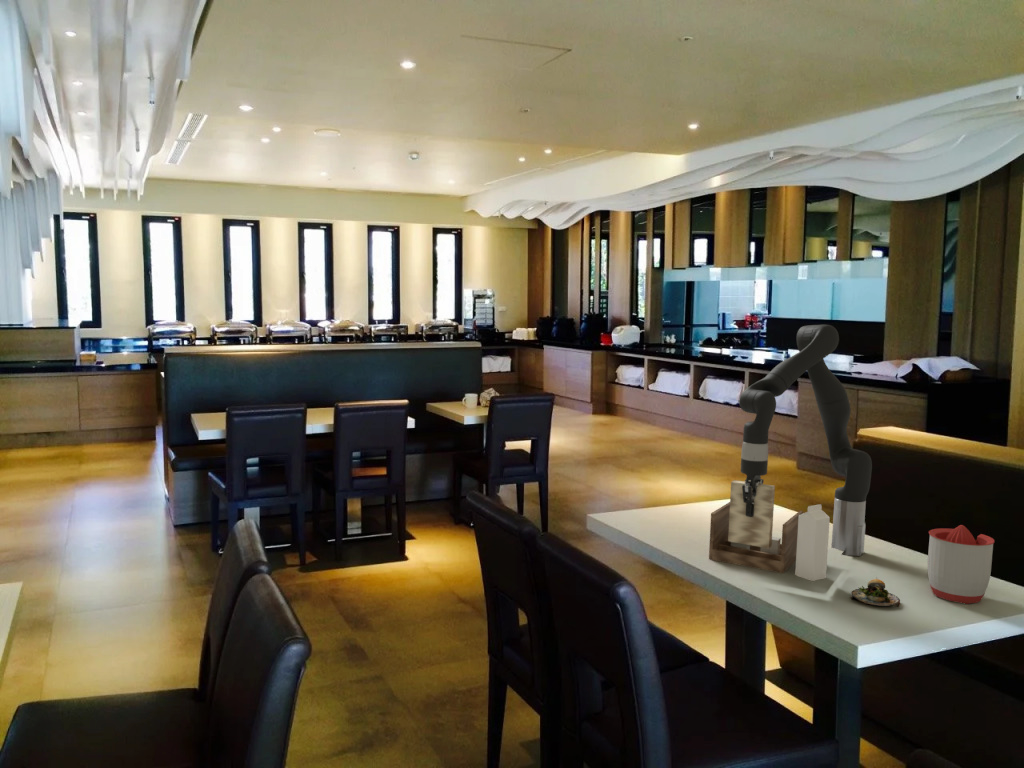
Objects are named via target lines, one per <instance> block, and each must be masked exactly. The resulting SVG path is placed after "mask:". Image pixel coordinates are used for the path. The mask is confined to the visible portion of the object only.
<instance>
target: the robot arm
mask: <svg viewBox="0 0 1024 768" xmlns="http://www.w3.org/2000/svg"><path fill="white" fill-rule="evenodd" d="M839 342H840V336H839V332H838V330H837V329H836V327H834V325H830V324H811V325H804V326H803V325H802V326H801V327H800V328H799V329H798V330H797V333H796V345H797V350H798V352H797V353H795V354H793V355H792V356H790V357H788V358H786V359H785V360H783V361H781V362H780V363H778V364H777V365H775V367H773V368H772V369H771V371H769V372H768V373H767V374H766V375H765V377H763V378H762V379H759V380H758V381H756V382H754V383H753V384H751V385H750V386H748V387H747V388H745V389H744V391H743V392H742V393H741V394H740V397H739V400H738V401H739V402H738V405H739V407H740V409H741V410H742V411H743V412H745V413H747V414H748V413H749V414H753V415H754V414H755V415H756V416H755V418H754V420H753V421H752V420H751V421H747V422H745V424H744V425H743V437H742V445H741V453H740V456H741V457H740V472H741V474H743V475H746V479H745V480H744V482H745V484H744V485H743V486H742V490H743V501H744V503H746V516H748V517H753V516H754V504H755V497H756V496H757V487H758V486H759V484H764V481H765V480H764V478H762V476H765V475H767V474H768V465H769V464H768V462H769V460H768V459H769V430H770V426H771V424H772V421H773V417H774V415H775V412H776V409H777V408H776V407H777V400H776V398H777V397H780V396H782V395H783V394H784V393H785V392H786V391H787V390H788V389H790V387H791V386H792V385H793V384H794V383H795V382H796V381H797V380H798V379H799V378H800V377H801V376H803V374H804V373H806V372H807V373H808V377H809V381H810V384H811V386H812V390H813V394H814V396H815V397H814V398H815V401H816V404H817V409H818V412H819V415H820V418H821V421H822V425H823V428H824V432H825V437H826V440H827V447H828V452H829V453H828V454H829V459H830V463H831V467H832V469H833V471H834V472H835V473H837V474H838V475H839V476H843V477H845V482H844V485H843V486H840V487H837V488H836V489H835V491H834V500H833V502H834V504H833V516H832V517H833V519H832V532H831V533H832V535H831V549H835V550H839V551H841V552H842V551H843V552H842V553H841V556H842V555H843V556H849V557H851V556H852V557H855V556H856V557H861V556H862V555H863V553H864V552H865V551H864V550H865V540H866V539H865V537H866V536H865V535H866V521H865V519H866V517H865V516H866V504H867V495H868V494H869V491H870V489H871V481H872V480H871V479H872V471H873V470H872V469H873V462H872V458H871V456H870V454H868V453H867V452H865V451H863V450H859V449H855V448H853V447H852V445H851V443H850V439H849V437H848V430H847V428H848V424H849V421H850V418H851V413H852V412H851V404H850V399H849V397H848V393H847V389H846V388H845V386H844V384H842V382H841V381H840V380H839V379H838V377H837V376H835V374H834V373H833V372H832V371H831V370H830V369H829V368H828V366H827V364H826V362H825V358H826V357H828V356H829V355H830V354H832V353H833V352H835V350H836V349H837V347H838V345H839ZM752 493H754V494H752ZM748 497H750V499H748Z"/></svg>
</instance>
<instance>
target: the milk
mask: <svg viewBox="0 0 1024 768" xmlns="http://www.w3.org/2000/svg"><path fill="white" fill-rule="evenodd" d="M830 518H831V517H830V516H829V515H828V514H827V513H826V512H825V511H824V510H823V509H822V504H816V505H815V504H814V505H808V507H807V511H806V512H803V514H801V515H799V518H798V535H797V552H796V561H795V571H794V572H795V573H794V575H795V576H797V577H800V578H802V579H805V580H808V581H812V582H815V581H819V580H822V579H826V578H827V568H828V567H827V566H828V554H829V550H828V548H829V537H830V536H829V533H830V520H831V519H830Z"/></svg>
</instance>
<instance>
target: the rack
mask: <svg viewBox="0 0 1024 768" xmlns="http://www.w3.org/2000/svg"><path fill="white" fill-rule="evenodd" d="M803 513H804V511H802V510H799V511H798V512H797V513H795V514H794V515H793V516H791V517H790V518H789V519H788V520H786V521H785V522H784V523H783V524H782V528H781V529H782V531H781V534H782V535H781V543H780V555H777V554H771V553H766V552H760V548H761V547H758V546H752V545H750V550H749V549H744V548H738V547H733V546H731V542H730V541H728V533H729V514H730V501H729V502H727V503H725V504H724V505H722V506H720V507H718V508H717V509H716V510H714V511H712V512H711V513H710V528H709V548H708V551H709V552H708V560H713V561H718V562H723V563H729V564H733V565H739V566H744V567H748V568H753V569H759V570H763V571H769V572H775V573H778V574H779V573H780V574H785V573H786V572H787V570H789V568H790V567H791V566H792V565H793V564H794V563H796V552H797V535H798V518H799V515H801V514H803Z"/></svg>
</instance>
